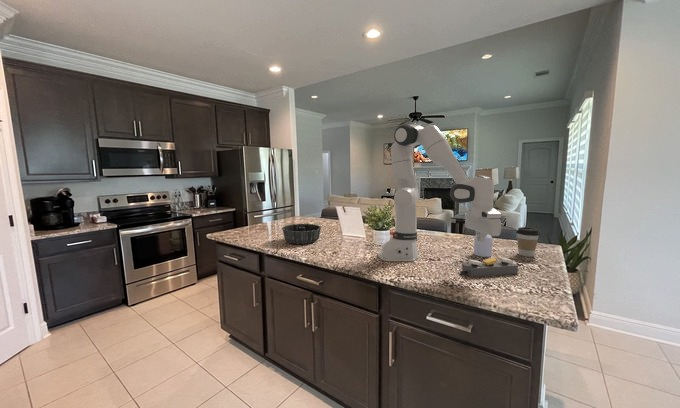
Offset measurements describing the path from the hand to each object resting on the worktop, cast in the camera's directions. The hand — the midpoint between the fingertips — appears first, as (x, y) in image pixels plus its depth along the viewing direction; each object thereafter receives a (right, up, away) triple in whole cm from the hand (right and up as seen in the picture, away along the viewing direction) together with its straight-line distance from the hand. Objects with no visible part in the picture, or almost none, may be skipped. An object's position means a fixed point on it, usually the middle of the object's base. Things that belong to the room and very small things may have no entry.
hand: (480, 241), depth 130 cm
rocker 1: (-2, -11, +1) cm, 11 cm away
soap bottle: (+17, -12, +32) cm, 38 cm away
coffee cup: (+41, -12, +31) cm, 53 cm away
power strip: (+4, -15, +3) cm, 16 cm away
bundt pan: (-90, -9, +64) cm, 111 cm away
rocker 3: (+14, -10, +4) cm, 18 cm away
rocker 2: (+6, -11, +3) cm, 12 cm away
